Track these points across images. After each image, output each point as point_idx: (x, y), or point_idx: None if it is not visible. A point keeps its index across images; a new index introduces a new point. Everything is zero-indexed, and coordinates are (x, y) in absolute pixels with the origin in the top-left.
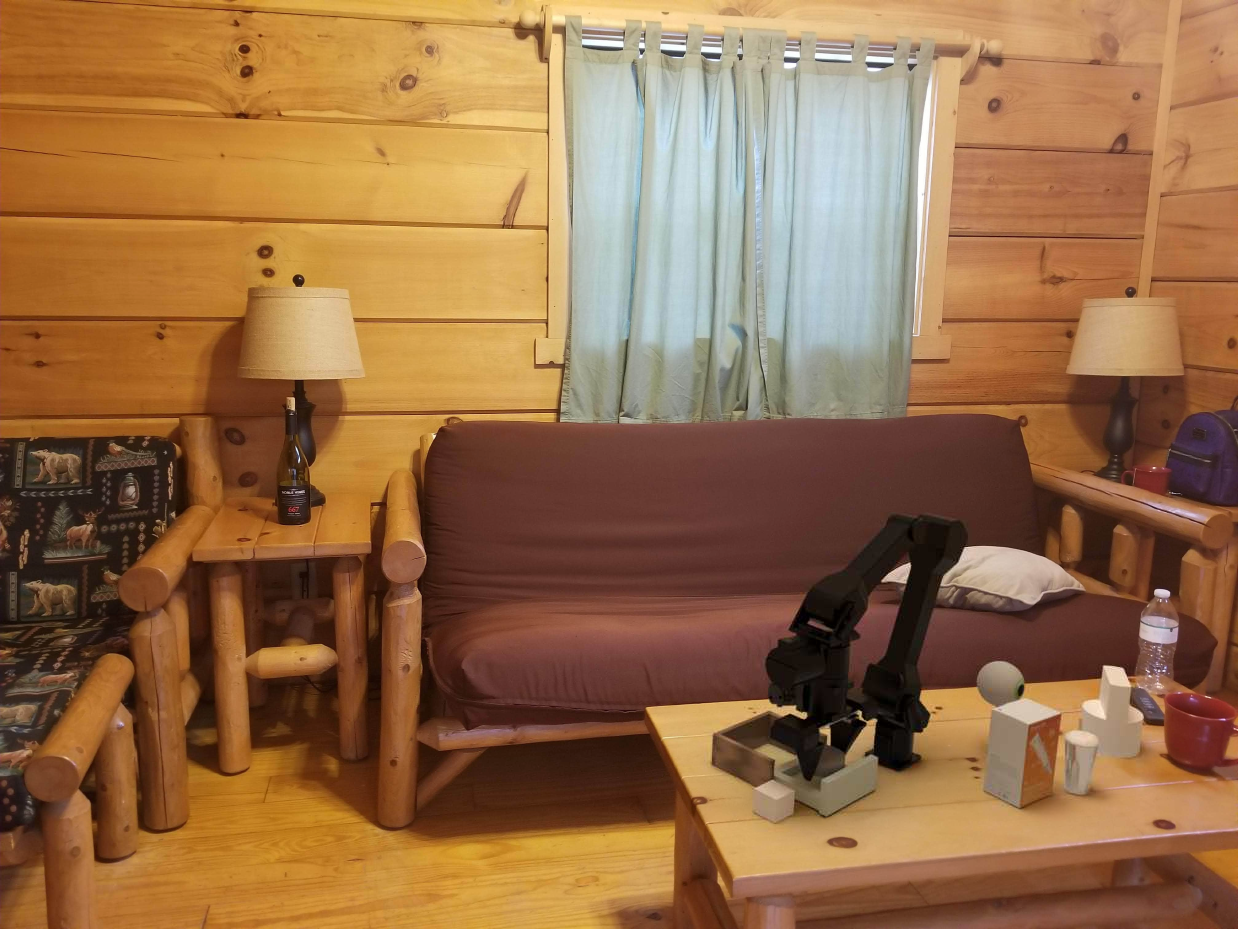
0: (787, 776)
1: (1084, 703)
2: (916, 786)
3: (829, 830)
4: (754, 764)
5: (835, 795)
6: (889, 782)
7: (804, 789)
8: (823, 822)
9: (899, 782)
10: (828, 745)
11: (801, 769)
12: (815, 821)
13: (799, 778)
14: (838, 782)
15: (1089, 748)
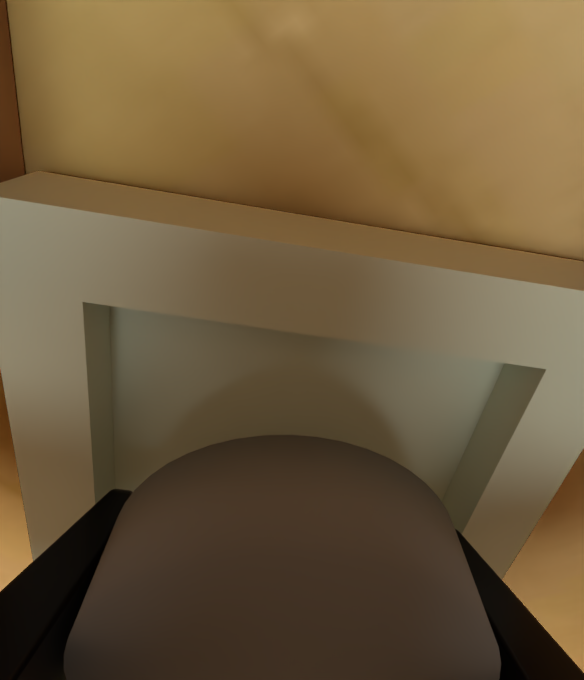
0: (74, 369)
1: None
2: (572, 653)
3: (3, 583)
4: None
5: None
6: (558, 595)
7: (29, 517)
8: (31, 551)
9: (578, 615)
10: (495, 666)
11: (55, 544)
12: (5, 530)
13: (235, 362)
14: None
15: None
